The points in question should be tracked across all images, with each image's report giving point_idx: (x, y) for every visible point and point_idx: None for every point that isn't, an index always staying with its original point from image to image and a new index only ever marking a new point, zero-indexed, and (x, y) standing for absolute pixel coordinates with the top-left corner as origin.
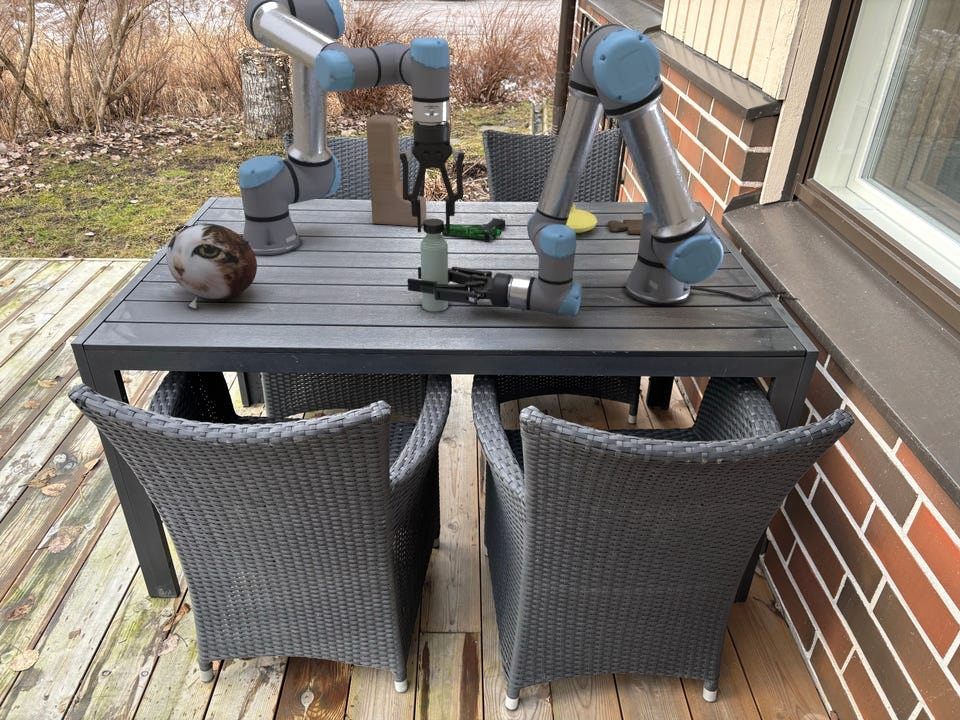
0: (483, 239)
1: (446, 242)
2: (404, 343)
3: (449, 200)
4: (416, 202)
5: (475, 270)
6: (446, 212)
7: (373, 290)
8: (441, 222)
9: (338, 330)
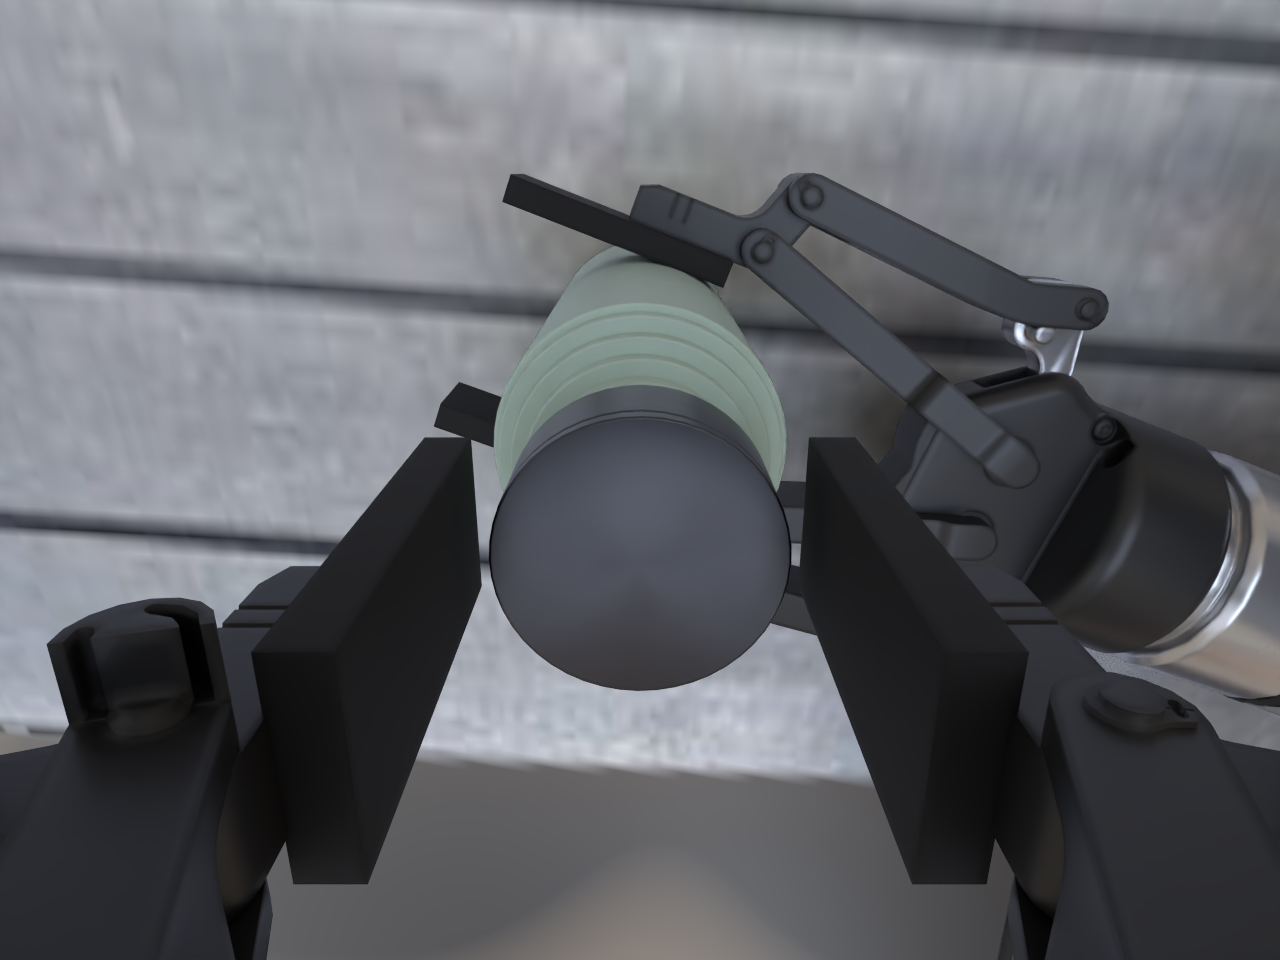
0: None
1: (778, 459)
2: (482, 715)
3: (1008, 911)
4: (276, 842)
5: (981, 268)
6: (865, 751)
7: (206, 51)
8: (756, 582)
9: (131, 582)
